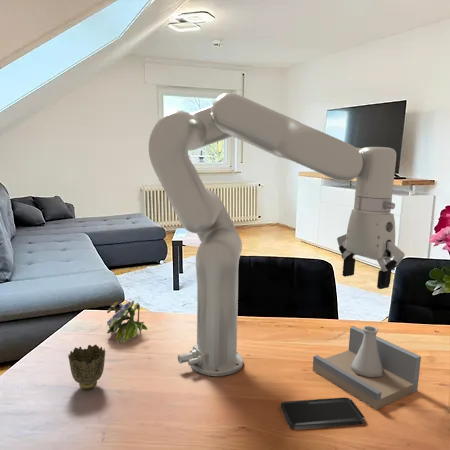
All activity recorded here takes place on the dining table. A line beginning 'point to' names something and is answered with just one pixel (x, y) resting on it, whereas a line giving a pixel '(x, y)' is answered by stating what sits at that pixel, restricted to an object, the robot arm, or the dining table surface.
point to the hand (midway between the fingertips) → (364, 281)
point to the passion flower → (130, 325)
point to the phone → (321, 413)
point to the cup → (87, 365)
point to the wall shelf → (372, 386)
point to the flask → (368, 355)
